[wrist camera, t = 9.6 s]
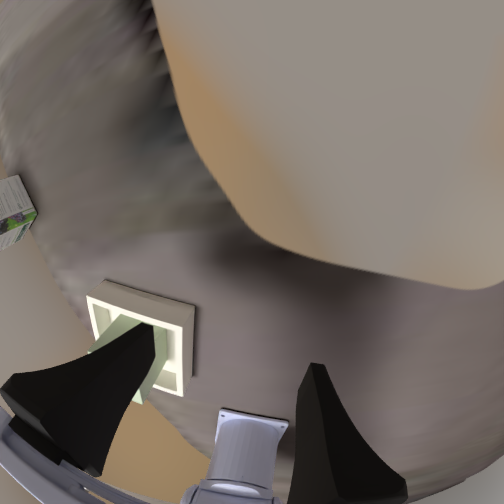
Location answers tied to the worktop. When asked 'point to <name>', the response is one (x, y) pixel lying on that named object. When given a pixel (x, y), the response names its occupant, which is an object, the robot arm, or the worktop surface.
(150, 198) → the worktop surface
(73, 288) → the worktop surface
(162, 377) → the bin
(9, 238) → the syrup box
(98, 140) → the worktop surface
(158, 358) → the block
